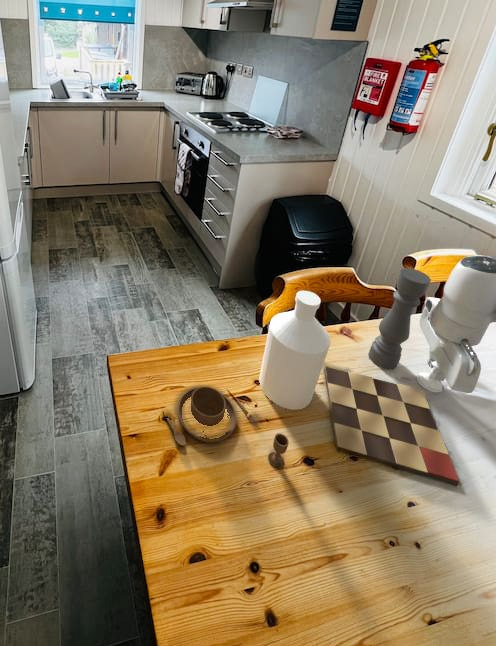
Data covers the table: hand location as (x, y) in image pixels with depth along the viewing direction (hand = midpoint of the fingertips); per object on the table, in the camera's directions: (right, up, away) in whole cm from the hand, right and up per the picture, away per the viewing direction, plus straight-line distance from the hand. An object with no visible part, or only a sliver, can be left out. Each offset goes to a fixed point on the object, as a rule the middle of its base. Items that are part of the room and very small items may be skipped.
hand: (434, 371), depth 89 cm
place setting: (-51, -7, -11) cm, 53 cm away
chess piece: (0, -3, +2) cm, 4 cm away
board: (-17, -7, -7) cm, 19 cm away
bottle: (-34, -3, -1) cm, 34 cm away
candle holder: (-7, 0, +8) cm, 10 cm away
